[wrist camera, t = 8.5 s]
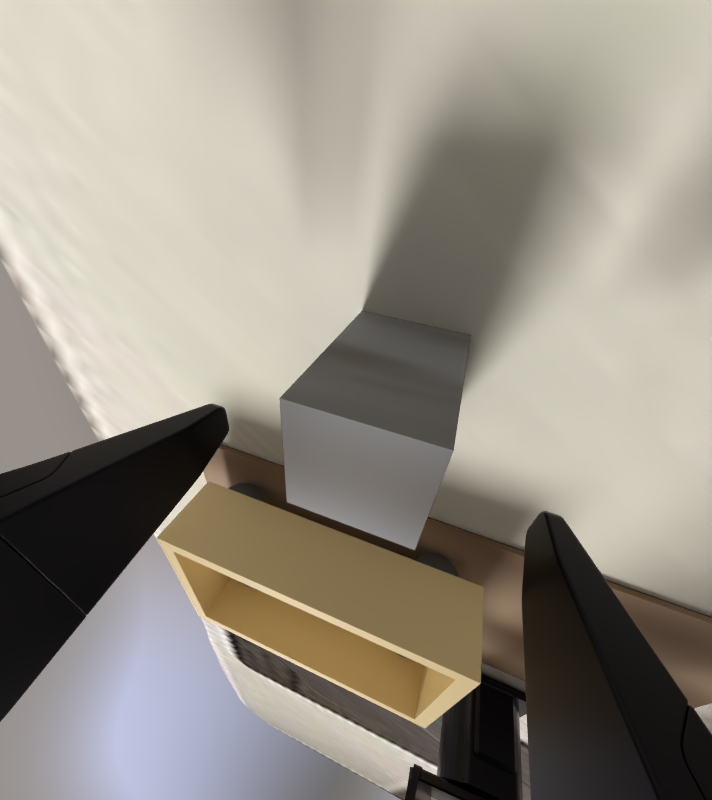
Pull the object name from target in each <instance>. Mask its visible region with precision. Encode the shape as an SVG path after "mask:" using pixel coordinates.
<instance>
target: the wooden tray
mask: <svg viewBox="0 0 712 800" xmlns="http://www.w3.org/2000/svg"><path fill="white" fill-rule="evenodd" d="M157 540H158V541H159V543H160V545H161V547H162V549H163V551H164V553H165V554H166V556H167V558H168V560H169V562H170V564H171V566H172V567H173V569H174V571H175V573H176V575H177V577H178V578H179V580H180V582H181V584H182V586H183V588H184V590H185V591H186V593H187V595H188V597H189V599H190V601H191V603H192V605H193V606H194V608H195V610H196V612H197V614H198V615H199V616H200V617H202V618H204V619H206V620H208V621H210V622H212V623H214V624H216V625H218V626H220V627H222V628H224V629H226V630H228V631H230V632H232V633H234V634H236V635H238V636H240V637H242V638H244V639H246V640H248V641H250V642H252V643H254V644H256V645H258V646H260V647H262V648H264V649H266V650H268V651H270V652H272V653H274V654H276V655H278V656H280V657H282V658H284V659H286V660H288V661H290V662H292V663H294V664H296V665H298V666H300V667H302V668H304V669H306V670H308V671H310V672H313V673H315V674H317V675H319V676H321V677H323V678H325V679H327V680H329V681H331V682H333V683H335V684H337V685H339V686H341V687H343V688H345V689H347V690H349V691H351V692H353V693H355V694H357V695H359V696H361V697H363V698H365V699H367V700H369V701H371V702H373V703H375V704H377V705H379V706H381V707H383V708H385V709H387V710H389V711H391V712H393V713H395V714H397V715H399V716H401V717H403V718H405V719H407V720H409V721H411V722H413V723H415V724H417V725H419V726H421V727H423V728H426V727H427V726H428V725H430V724H431V723H432V722H433V721H435V720H436V719H437V718H438V717H440V716H441V715H442V714H443V713H445V712H446V711H447V710H448V709H450V708H451V707H452V706H453V705H455V704H456V703H457V702H458V701H460V700H461V699H462V698H463V697H465V696H466V695H467V694H468V693H470V692H471V691H472V690H473V689H475V688H476V687H477V686H478V685H480V684H481V660H482V626H483V593H484V587H482V586H480V585H477V584H474V583H472V582H469V581H467V580H464V579H461V578H459V575H458V572H457V570H456V568H455V566H454V565H453V564H452V563H451V562H450V561H449V560H448V559H447V558H446V557H444V556H442V555H440V554H437V553H426V554H423V555H422V556H420V557H419V558H418V559H417V561H415V560H412V559H410V558H407V557H404V556H402V555H399V554H397V553H394V552H391V551H389V550H386V549H384V548H381V547H378V546H376V545H373V544H371V543H368V542H365V541H363V540H360V539H358V538H355V537H352V536H350V535H347V534H345V533H342V532H339V531H337V530H334V529H332V528H329V527H326V526H324V525H321V524H319V523H316V522H313V521H311V520H308V519H306V518H303V517H300V516H298V515H295V514H293V513H290V512H288V511H285V510H282V509H280V508H277V507H275V506H272V505H269V504H267V503H264V502H262V497H261V492H260V490H259V489H258V487H256V486H255V485H253V484H250V483H239V484H235V485H233V486H231V487H229V488H225V487H223V486H220V485H217V484H215V483H212V482H210V481H209V482H208V483H207V484H206V485H205V486H204V487H203V488H202V489H201V490H200V491H199V492H198V494H197V495H196V496H195V497H194V498H193V499H192V500H191V501H190V502H189V503H188V504H187V505H186V507H185V508H184V509H183V510H182V511H181V512H180V513H179V514H178V515H177V516H176V517H175V519H174V520H173V521H172V522H171V523H170V524H169V525H168V526H167V527H166V528H165V529H164V530H163V532H162V533H161V534H160V535H159V536H158V537H157Z"/></svg>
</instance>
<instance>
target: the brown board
mask: <svg viewBox="0 0 712 800" xmlns="http://www.w3.org/2000/svg"><path fill="white" fill-rule="evenodd" d="M204 474H205V478H206V481H207V483H208V482H209V481H210V482H212V483H215V484H217V485H220V486H223V487H225V488H229V487H231V486H233V485H235V484H239V483H250V484H253V485H255V486H256V487H258V489H259V490H260V492H261V497H262V502H264V503H267V504H269V505H272V506H275V507H277V508H280V509H282V510H285V511H288V512H290V513H293V514H295V515H298V516H300V517H303V518H306V519H308V520H311V521H313V522H316V523H319V524H321V525H324V526H326V527H329V528H332V529H334V530H337V531H339V532H342V533H345V534H347V535H350V536H352V537H355V538H358V539H360V540H363V541H365V542H368V543H371V544H373V545H376V546H378V547H381V548H384V549H386V550H389V551H391V552H394V553H397V554H399V555H402V556H404V557H407V558H410V559H412V560H415V561H417V559H418V558H419V557H420V556H422V555H423V554H426V553H437V554H440V555H442V556H444V557H446V558H447V559H448V560H449V561H450V562H451V563H452V564H453V565H454V566H455V568H456V570H457V572H458V575H459V578H461V579H464V580H467V581H469V582H472V583H474V584H477V585H480V586H482V587H484V593H483V626H482V660H481V662H482V663H485V664H487V665H489V666H491V667H494V668H496V669H498V670H501V671H503V672H505V673H508V674H510V675H512V676H514V677H517V678H519V679H521V680H524V681H525V665H524V644H523V623H522V583H523V569H524V555H525V552H524V551H521V550H518V549H515V548H512V547H509V546H507V545H504V544H501V543H498V542H495V541H492V540H490V539H487V538H484V537H481V536H478V535H475V534H473V533H470V532H467V531H464V530H461V529H458V528H456V527H453V526H450V525H447V524H444V523H441V522H439V521H436V520H433V519H430V518H427V520H426V522H425V525H424V528H423V530H422V533H421V535H420V538H419V540H418V543H417V546H416V548H415V550H413V549H410V548H407V547H405V546H402V545H399V544H397V543H394V542H391V541H389V540H386V539H384V538H381V537H378V536H376V535H373V534H370V533H368V532H365V531H362V530H360V529H357V528H354V527H352V526H349V525H346V524H344V523H341V522H338V521H336V520H333V519H330V518H328V517H325V516H322V515H320V514H317V513H314V512H312V511H309V510H307V509H304V508H301V507H299V506H296V505H293V504H291V503H288V502H287V497H286V482H285V468H284V467H283V466H280V465H277V464H274V463H271V462H269V461H266V460H263V459H260V458H257V457H254V456H252V455H249V454H246V453H243V452H240V451H237V450H235V449H232V448H229V447H226V446H223V445H220V446H219V448H218V449H217V451H216V452H215V454H214V456H213V457H212V459H211V460H210V462H209V463H208V465H207V466H206V468H205V469H204ZM607 583H608V584H609V586H610V587H611V589H612V590H613V591H614V593H615V594H616V596H617V597H618V599H619V600H620V602H621V603H622V605H623V606H624V607H625V609H626V610H627V612H628V613H629V615H630V616H631V618H632V619H633V621H634V622H635V624H636V625H637V626H638V628H639V629H640V631H641V632H642V634H643V635H644V637H645V638H646V640H647V641H648V643H649V644H650V645H651V647H652V648H653V650H654V651H655V653H656V654H657V656H658V657H659V659H660V660H661V661H662V663H663V664H664V666H665V667H666V669H667V670H668V672H669V673H670V675H671V676H672V678H673V679H674V680H675V682H676V683H677V685H678V686H679V688H680V689H681V691H682V692H683V694H684V695H685V696H686V698H687V700H688V705H691V706H692V707H693V708H696V707H699V706H703V705H706V704H710V703H712V618H711V617H708V616H705V615H702V614H699V613H697V612H694V611H691V610H688V609H685V608H682V607H680V606H677V605H674V604H671V603H668V602H665V601H663V600H660V599H657V598H654V597H651V596H648V595H646V594H643V593H640V592H637V591H634V590H631V589H629V588H626V587H623V586H620V585H617V584H614V583H612V582H609V581H607Z"/></svg>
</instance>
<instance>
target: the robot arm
mask: <svg viewBox="0 0 712 800" xmlns="http://www.w3.org/2000/svg"><path fill="white" fill-rule="evenodd" d="M228 431H229V424H228V419H227V414H226V410H225V408H224V407H222V406H219V405H216V404H208V405H205V406H202V407H199V408H196V409H193V410H190V411H187V412H185V413H182V414H179V415H176V416H173V417H170V418H167V419H164V420H161V421H158V422H155V423H152V424H149V425H147V426H144V427H141V428H138V429H135V430H132V431H129V432H126V433H123V434H120V435H117V436H114V437H111V438H109V439H106V440H103V441H100V442H97V443H94V444H91V445H88V446H85V447H82V448H79V449H76V450H74V451H72V452H67V453H64V454H62V455H59V456H56V457H53V458H50V459H47V460H44V461H41V462H38V463H35V464H32V465H28V466H25V467H22V468H19V469H15V470H12V471H9V472H5V473H2V474H0V721H1V720H2V719H3V718H4V717H5V716H6V715H7V713H8V712H9V711H10V710H11V709H12V708H13V706H14V705H15V704H16V703H17V701H18V700H19V699H20V698H21V696H22V695H23V694H24V693H25V692H26V690H27V689H28V688H29V686H30V685H31V684H32V683H33V682H34V680H35V679H36V678H37V676H38V675H39V674H40V673H41V672H42V670H43V669H44V668H45V667H46V665H47V664H48V663H49V662H50V661H51V659H52V658H53V657H54V656H55V654H56V653H57V652H58V651H59V650H60V648H61V647H62V646H63V645H64V643H65V642H66V640H68V638H69V637H70V636H71V635H72V634H73V632H74V631H75V630H76V628H77V627H78V626H79V625H80V624H81V622H82V621H83V620H84V619H85V617H86V615H87V614H88V613H89V612H90V611H91V610H92V608H93V607H94V606H95V605H96V603H97V602H98V601H99V600H100V599H101V597H102V596H103V595H104V594H105V592H106V591H107V590H108V589H109V588H110V586H111V585H112V584H113V583H114V581H115V580H116V579H117V578H118V576H119V575H120V574H121V573H122V571H123V570H124V569H125V568H126V567H127V565H128V564H129V563H130V561H131V560H132V559H133V558H134V557H135V555H136V554H137V553H138V552H139V550H140V549H141V548H142V547H143V545H144V544H145V543H146V542H147V541H148V539H149V538H150V537H151V536H152V534H153V533H154V532H155V531H156V530H157V528H158V527H159V526H160V525H161V523H162V522H163V521H164V520H165V518H166V517H167V516H168V515H169V514H170V512H171V511H172V510H173V509H174V507H175V506H176V505H177V504H178V502H179V501H180V500H181V499H182V497H183V496H184V495H185V494H186V493H187V491H188V490H189V489H190V488H191V486H192V485H193V484H194V483H195V481H196V480H197V479H198V478H199V476H200V475H201V473H202V472H203V471H204V469H205V468H206V466H207V465H208V463H209V462H210V460H211V459H212V457H213V456H214V454H215V452H216V451H217V449H218V448H219V446H220V445H221V443H222V442H223V440H224V439H225V437H226V436H227V434H228ZM522 623H523V644H524V665H525V686H526V695H523V694H521V693H519V692H517V691H514V690H512V689H510V688H508V687H505V686H503V685H501V684H499V683H496V682H494V681H492V680H490V679H487V678H485V677H483V676H481V684H480V685H478V686H477V687H476V688H475V689H473V690H472V691H471V692H470V693H468V694H467V695H466V696H465V697H463V698H462V699H461V700H460V701H458V702H457V703H456V704H455V705H453V706H452V707H451V708H450V709H448V710H447V711H446V712H445V713H443V718H442V729H441V739H440V749H439V759H438V770H437V776H436V775H434V774H432V773H430V772H427V771H425V770H423V769H422V767H420V766H418V765H416V764H414V767H410V773H409V780H408V787H407V792H406V796H405V800H431V797H433V798H435V799H437V800H523V795H522V771H521V747H520V723H519V717H521V716H523V715H525V714H527V728H528V749H529V770H530V791H531V800H712V734H711V733H710V731H709V730H708V728H707V727H706V725H705V724H704V722H703V721H702V720H701V718H700V717H699V715H698V714H697V712H696V711H695V709H694V708H693V707H692V706H691V705H688V700H687V698H686V696H685V695H684V694H683V692H682V691H681V689H680V688H679V686H678V685H677V683H676V682H675V680H674V679H673V678H672V676H671V675H670V673H669V672H668V670H667V669H666V667H665V666H664V664H663V663H662V661H661V660H660V659H659V657H658V656H657V654H656V653H655V651H654V650H653V648H652V647H651V645H650V644H649V643H648V641H647V640H646V638H645V637H644V635H643V634H642V632H641V631H640V629H639V628H638V626H637V625H636V624H635V622H634V621H633V619H632V618H631V616H630V615H629V613H628V612H627V610H626V609H625V607H624V606H623V605H622V603H621V602H620V600H619V599H618V597H617V596H616V594H615V593H614V591H613V590H612V589H611V587H610V586H609V584H608V583H607V581H606V580H605V578H604V577H603V575H602V574H601V572H600V571H599V570H598V568H597V567H596V565H595V564H594V562H593V561H592V559H591V558H590V556H589V555H588V554H587V552H586V551H585V549H584V548H583V546H582V545H581V543H580V542H579V540H578V539H577V537H576V536H575V535H574V533H573V532H572V530H571V529H570V527H569V526H568V524H567V523H566V521H565V520H564V519H563V518H562V517H561V516H559V515H556V514H553V513H550V512H547V511H542V512H541V513H540V514H539V515H538V516H537V518H536V519H535V520H534V522H533V523H532V524H531V526H530V527H529V529H528V531H527V534H526V541H525V555H524V569H523V583H522Z"/></svg>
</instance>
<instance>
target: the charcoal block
mask: <svg viewBox="0 0 712 800" xmlns="http://www.w3.org/2000/svg"><path fill="white" fill-rule="evenodd" d="M470 337H471V335H468V334H463V333H459V332H454V331H450V330H445V329H441V328H436V327H432V326H427V325H423V324H418V323H414V322H409V321H405V320H400V319H396V318H391V317H387V316H382V315H378V314H373V313H369V312H364V311H362V312H361V313H360V314H359V315H358V316H357V317H356V318H355V319H354V320H353V321H352V322H351V323H350V324H349V325H348V326H347V327H346V328H345V330H344V331H343V332H342V333H341V334H340V335H339V336H338V337H337V338H336V339H335V340H334V341H333V342H332V343H331V344H330V345H329V347H328V348H327V349H326V350H325V351H324V352H323V353H322V354H321V355H320V356H319V357H318V358H317V359H316V360H315V361H314V362H313V363H312V365H311V366H310V367H309V368H308V369H307V370H306V371H305V372H304V373H303V374H302V375H301V376H300V377H299V378H298V379H297V380H296V381H295V383H294V384H293V385H292V386H291V387H290V388H289V389H288V390H287V391H286V392H285V393H284V394H283V395H282V396H281V397H280V410H281V424H282V439H283V453H284V468H285V482H286V497H287V502H288V503H291V504H293V505H296V506H299V507H301V508H304V509H307V510H309V511H312V512H314V513H317V514H320V515H322V516H325V517H328V518H330V519H333V520H336V521H338V522H341V523H344V524H346V525H349V526H352V527H354V528H357V529H360V530H362V531H365V532H368V533H370V534H373V535H376V536H378V537H381V538H384V539H386V540H389V541H391V542H394V543H397V544H399V545H402V546H405V547H407V548H410V549H413V550H415V548H416V546H417V543H418V540H419V538H420V535H421V533H422V530H423V528H424V525H425V522H426V520H427V517H428V515H429V512H430V510H431V507H432V504H433V502H434V499H435V497H436V494H437V492H438V489H439V487H440V484H441V481H442V479H443V476H444V474H445V471H446V469H447V466H448V463H449V461H450V458H451V456H452V453H453V451H454V444H455V437H456V430H457V424H458V417H459V410H460V404H461V397H462V390H463V383H464V377H465V370H466V363H467V357H468V350H469V343H470Z"/></svg>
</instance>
